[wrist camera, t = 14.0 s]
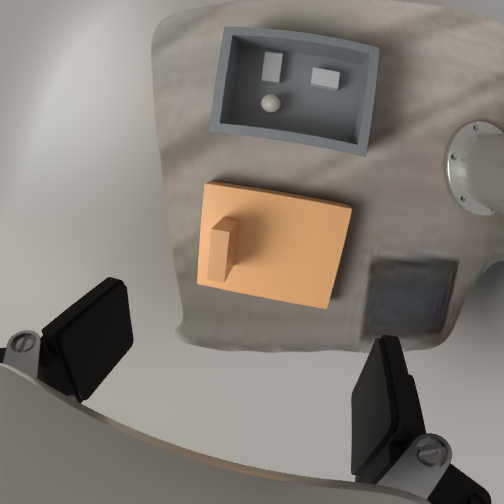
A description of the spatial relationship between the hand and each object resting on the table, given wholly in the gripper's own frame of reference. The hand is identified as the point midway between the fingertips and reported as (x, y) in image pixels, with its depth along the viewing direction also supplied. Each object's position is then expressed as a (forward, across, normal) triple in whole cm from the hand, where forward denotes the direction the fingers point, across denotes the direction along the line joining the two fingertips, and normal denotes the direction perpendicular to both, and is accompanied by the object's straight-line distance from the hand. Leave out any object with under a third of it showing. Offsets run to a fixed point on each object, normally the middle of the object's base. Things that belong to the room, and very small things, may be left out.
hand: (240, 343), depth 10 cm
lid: (+28, +3, +7) cm, 29 cm away
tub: (+28, +2, -12) cm, 31 cm away
